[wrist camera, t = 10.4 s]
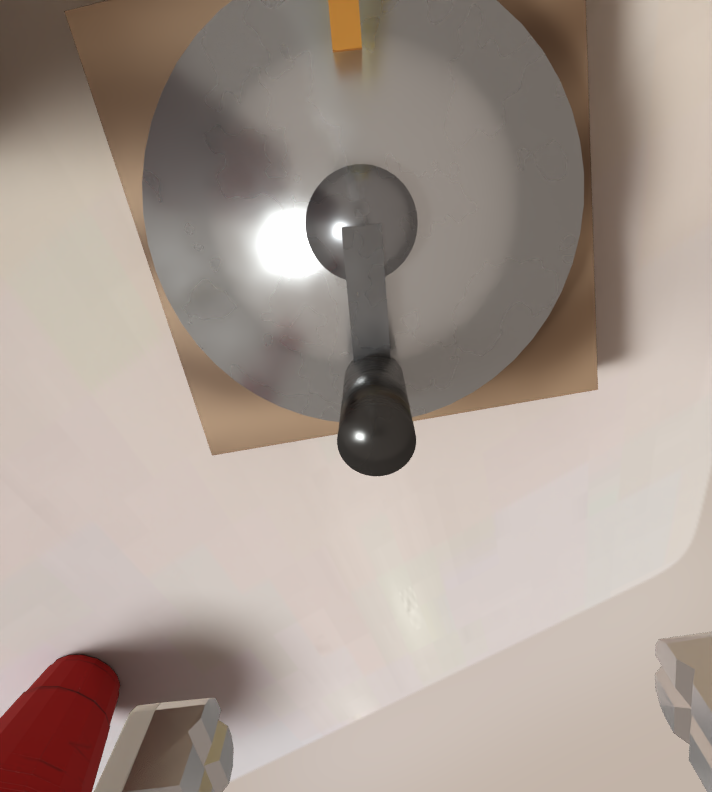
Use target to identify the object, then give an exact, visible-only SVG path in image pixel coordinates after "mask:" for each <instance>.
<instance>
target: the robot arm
mask: <svg viewBox="0 0 712 792" xmlns="http://www.w3.org/2000/svg"><path fill="white" fill-rule="evenodd" d="M655 655H656V657H657V659H658V660H659V662H660V664H661V665H662V666H661V667H660V669H659V670H658V671H657V672H656V673H655V688H656V692H657V696H658V699H659V703H660V706H661V709H662V711H663V713H664V716H665V718H666V720H667V722H668V723H669V725H670V727H671V729H672V731H673V733H674V734H676V735H677V736H678V737H680V738H681V739H683V740H684V741H686V742H687V743H689V744H690V747H689V761H690V762H691V764H692V766H693V768H694V770H695V771H696V773H697V775H698V776H699V778H700V780H701V782H702V784H703V785H704V787H705V789H706V791H707V792H712V632H705V633H699V634H692V635H684V636H677V637H670V638H663V639H659V640H658V641H657V643H656V649H655ZM220 712H221V708H220V706H219V704H218V702H217V700H216V698H203V699H193V700H183V701H173V702H162V703H155V704H146V705H137V706H136V707H135V708H134V709H133V710H132V711H131V713H130V714H129V716H128V718H127V720H126V722H125V724H124V727H123V729H122V731H121V733H120V735H119V738H118V740H117V742H116V744H115V746H114V749H113V751H112V753H111V755H110V757H109V760H108V762H107V764H106V766H105V768H104V771H103V773H102V775H101V777H100V779H99V782H98V784H97V786H96V788H95V790H94V792H223V790H224V789H225V788H226V787H227V785H228V784H229V781H230V777H231V772H232V767H233V742H232V736H231V733H230V730H229V728H228V726H227V725H225V724H224V723H222V722H221V721H219V720H218V719H219V716H220Z"/></svg>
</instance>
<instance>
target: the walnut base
mask: <svg viewBox="0 0 712 792" xmlns="http://www.w3.org/2000/svg"><path fill="white" fill-rule="evenodd" d="M231 1H232V0H107V1H103V2H99V3H95V4H91V5H87V6H83V7H79V8H75V9H71V10H68V11H64V12H65V15H66V18H67V21H68V24H69V27H70V30H71V33H72V36H73V39H74V42H75V45H76V48H77V51H78V54H79V57H80V60H81V63H82V66H83V69H84V72H85V75H86V78H87V81H88V84H89V87H90V90H91V93H92V96H93V99H94V102H95V105H96V108H97V111H98V114H99V117H100V120H101V123H102V126H103V129H104V132H105V135H106V138H107V141H108V144H109V147H110V150H111V153H112V156H113V159H114V162H115V165H116V168H117V171H118V174H119V177H120V180H121V183H122V186H123V189H124V192H125V195H126V198H127V201H128V204H129V207H130V210H131V213H132V216H133V219H134V222H135V225H136V228H137V231H138V234H139V237H140V240H141V243H142V246H143V249H144V252H145V255H146V258H147V261H148V264H149V267H150V270H151V273H152V276H153V279H154V282H155V285H156V288H157V291H158V294H159V297H160V300H161V303H162V306H163V309H164V312H165V315H166V318H167V321H168V324H169V327H170V330H171V333H172V336H173V339H174V342H175V345H176V348H177V351H178V354H179V357H180V360H181V363H182V366H183V369H184V372H185V375H186V378H187V381H188V384H189V387H190V390H191V393H192V396H193V399H194V402H195V405H196V408H197V411H198V414H199V417H200V420H201V423H202V426H203V429H204V432H205V435H206V438H207V441H208V444H209V447H210V450H211V453H212V455H218V454H223V453H229V452H235V451H241V450H247V449H253V448H259V447H264V446H270V445H276V444H282V443H288V442H294V441H299V440H305V439H311V438H317V437H323V436H329V435H335V434H338V429H339V422H334V421H326V420H322V419H318V418H313V417H309V416H305V415H302V414H299V413H296V412H293V411H290V410H288V409H285V408H282V407H279V406H277V405H275V404H273V403H271V402H269V401H267V400H265V399H263V398H261V397H259V396H257V395H256V394H254V393H253V392H251V391H250V390H248V389H247V388H245V387H244V386H242V385H241V384H239V383H238V382H236V381H235V380H234V379H232V378H231V377H230V376H229V375H228V374H227V373H225V372H224V371H223V370H222V369H221V368H219V367H218V366H217V365H216V364H215V363H214V362H213V361H212V360H211V359H210V358H209V357H208V356H207V355H206V354H205V352H204V351H203V350H202V349H201V348H200V347H199V346H198V345H197V344H196V342H195V341H194V340H193V338H192V337H191V336H190V334H189V333H188V332H187V330H186V329H185V327H184V326H183V325H182V323H181V322H180V320H179V318H178V316H177V315H176V313H175V311H174V309H173V308H172V306H171V304H170V302H169V301H168V299H167V297H166V294H165V292H164V290H163V287H162V285H161V283H160V280H159V278H158V275H157V273H156V270H155V266H154V263H153V260H152V256H151V253H150V249H149V246H148V241H147V235H146V228H145V222H144V216H143V196H142V178H143V167H144V155H145V149H146V144H147V140H148V135H149V130H150V126H151V121H152V118H153V116H154V113H155V110H156V107H157V104H158V102H159V99H160V96H161V93H162V91H163V89H164V87H165V85H166V83H167V81H168V79H169V77H170V75H171V73H172V71H173V69H174V67H175V65H176V63H177V62H178V60H179V59H180V57H181V56H182V54H183V53H184V52H185V50H186V49H187V47H188V46H189V45H190V43H191V42H192V40H193V39H194V37H195V36H196V35H197V34H198V33H199V31H200V30H201V29H202V28H203V27H204V26H205V25H206V24H207V23H208V22H209V21H210V20H211V19H212V18H213V17H214V16H215V15H216V13H217V12H218V11H219V10H221V9H222V8H223V7H224V6H226V5H227V4H228V3H229V2H231ZM497 1H498V2H499V3H500V4H501V5H502V6H503V7H504V8H505V9H506V10H508V11H509V12H510V13H511V14H512V15H513V16H514V17H515V18H516V19H517V20H518V21H519V22H520V23H521V24H522V25H523V26H524V27H525V29H526V30H527V31H528V32H529V34H530V35H531V36H532V37H533V39H534V40H535V41H536V42H537V44H538V45H539V46H540V47H541V49H542V50H543V52H544V53H545V55H546V57H547V59H548V60H549V62H550V64H551V65H552V67H553V69H554V71H555V72H556V74H557V76H558V77H559V79H560V82H561V84H562V87H563V89H564V91H565V94H566V96H567V99H568V101H569V104H570V106H571V109H572V112H573V116H574V120H575V123H576V127H577V131H578V135H579V139H580V145H581V153H582V161H583V169H584V207H583V215H582V223H581V231H580V236H579V240H578V244H577V248H576V252H575V256H574V260H573V264H572V266H571V269H570V272H569V274H568V277H567V279H566V282H565V284H564V287H563V290H562V292H561V294H560V296H559V297H558V299H557V301H556V303H555V305H554V307H553V309H552V311H551V313H550V314H549V316H548V318H547V319H546V321H545V322H544V323H543V325H542V326H541V328H540V329H539V331H538V332H537V333H536V335H535V336H534V338H533V339H532V340H531V341H530V343H529V344H528V345H527V346H526V347H525V348H524V349H523V350H522V352H521V353H520V354H519V355H518V356H517V357H516V358H515V359H514V360H513V361H512V362H511V363H510V364H509V365H508V366H507V367H505V368H504V369H503V370H502V371H501V372H500V373H499V374H498V375H496V376H495V377H494V378H493V379H491V380H490V381H488V382H487V383H486V384H484V385H483V386H481V387H480V388H478V389H477V390H475V391H474V392H473V393H471V394H469V395H467V396H465V397H463V398H461V399H459V400H458V401H456V402H454V403H452V404H450V405H447V406H445V407H442V408H440V409H437V410H434V411H432V412H429V413H427V414H423V415H419V416H415V417H412V420H413V421H416V420H422V419H428V418H434V417H440V416H446V415H452V414H457V413H463V412H469V411H475V410H481V409H487V408H493V407H498V406H504V405H510V404H516V403H522V402H528V401H533V400H539V399H545V398H551V397H557V396H563V395H569V394H574V393H580V392H586V391H592V390H598V378H597V346H596V315H595V283H594V251H593V219H592V188H591V156H590V124H589V92H588V61H587V29H586V0H497Z"/></svg>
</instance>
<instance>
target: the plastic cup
mask: <svg viewBox="0 0 712 792" xmlns="http://www.w3.org/2000/svg"><path fill="white" fill-rule="evenodd" d="M119 688H120V684H119V680H118V677H117V675H116V673H115V672H114V671H113V670H112V669H111V668H110V666H108V665H107V664H105V663H103V662H102V661H100V660H98V659H96V658H93V657H89V656H85V655H68V656H65V657H62V658H60V659H57V660H56V661H55V662H54V663H53V664H52V665H50V666H49V667H48V668H47V669H46V670H45V671H44V672H43V673H42V674H41V676H40V677H39V678H38V679H37V680H36V681H35V682H34V683H33V684H32V686H31V687H30V688H29V689H28V690H27V691H26V692H24V693H23V694H22V695H21V696H20V697H19V698H18V699H17V700H16V701H15V702H14V703H13V705H12V706H11V707H10V708H9V709H8V710H7V711H6V712H5V714H4V715H3V716H2V717H1V718H0V792H92V789H93V785H94V782H95V778H96V775H97V771H98V768H99V764H100V761H101V757H102V754H103V750H104V747H105V743H106V740H107V736H108V732H109V729H110V722H111V719H112V716H113V713H114V710H115V706H116V703H117V699H118V696H119Z"/></svg>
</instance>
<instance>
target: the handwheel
mask: <svg viewBox="0 0 712 792" xmlns="http://www.w3.org/2000/svg"><path fill="white" fill-rule="evenodd" d="M142 196H143V216H144V222H145V228H146V235H147V241H148V246H149V249H150V253H151V256H152V260H153V263H154V266H155V270H156V273H157V275H158V278H159V280H160V283H161V285H162V287H163V290H164V292H165V294H166V297H167V299H168V301H169V302H170V304H171V306H172V308H173V309H174V311H175V313H176V315H177V316H178V318H179V320H180V322H181V323H182V325H183V326H184V327H185V329H186V330H187V332H188V333H189V334H190V336H191V337H192V338H193V340H194V341H195V342H196V344H197V345H198V346H199V347H200V348H201V349H202V350H203V351H204V352H205V354H206V355H207V356H208V357H209V358H210V359H211V360H212V361H213V362H214V363H215V364H216V365H217V366H218V367H219V368H221V369H222V370H223V371H224V372H225V373H227V374H228V375H229V376H230V377H231V378H232V379H234V380H235V381H236V382H238V383H239V384H241V385H242V386H244V387H245V388H247V389H248V390H250V391H251V392H253V393H254V394H256V395H257V396H259V397H261V398H263V399H265V400H267V401H269V402H271V403H273V404H275V405H277V406H279V407H282V408H285V409H288V410H290V411H293V412H296V413H299V414H302V415H305V416H309V417H313V418H318V419H322V420H326V421H334V422H339V429H338V438H337V445H338V450H339V453H340V455H341V457H342V458H343V460H344V461H345V462H346V464H347V465H348V466H350V467H351V468H352V469H354V470H355V471H357V472H359V473H362V474H365V475H369V476H384V475H388V474H391V473H394V472H396V471H398V470H399V469H401V468H402V467H403V466H405V465H406V464H407V462H408V461H409V460H410V458H411V457H412V455H413V453H414V450H415V446H416V435H415V430H414V425H413V420H412V417H415V416H419V415H423V414H427V413H429V412H432V411H434V410H437V409H440V408H442V407H445V406H447V405H450V404H452V403H454V402H456V401H458V400H459V399H461V398H463V397H465V396H467V395H469V394H471V393H473V392H474V391H475V390H477V389H478V388H480V387H481V386H483V385H484V384H486V383H487V382H488V381H490V380H491V379H493V378H494V377H495V376H496V375H498V374H499V373H500V372H501V371H502V370H503V369H504V368H505V367H507V366H508V365H509V364H510V363H511V362H512V361H513V360H514V359H515V358H516V357H517V356H518V355H519V354H520V353H521V352H522V350H523V349H524V348H525V347H526V346H527V345H528V344H529V343H530V341H531V340H532V339H533V338H534V336H535V335H536V333H537V332H538V331H539V329H540V328H541V326H542V325H543V323H544V322H545V321H546V319H547V318H548V316H549V314H550V313H551V311H552V309H553V307H554V305H555V303H556V301H557V299H558V297H559V296H560V294H561V292H562V290H563V287H564V284H565V282H566V279H567V277H568V274H569V272H570V269H571V266H572V264H573V260H574V256H575V252H576V248H577V244H578V240H579V236H580V231H581V223H582V215H583V207H584V169H583V161H582V153H581V145H580V139H579V135H578V131H577V127H576V123H575V120H574V116H573V112H572V109H571V106H570V104H569V101H568V99H567V96H566V94H565V91H564V89H563V87H562V84H561V82H560V79H559V77H558V76H557V74H556V72H555V71H554V69H553V67H552V65H551V64H550V62H549V60H548V59H547V57H546V55H545V53H544V52H543V50H542V49H541V47H540V46H539V45H538V44H537V42H536V41H535V40H534V39H533V37H532V36H531V35H530V34H529V32H528V31H527V30H526V29H525V27H524V26H523V25H522V24H521V23H520V22H519V21H518V20H517V19H516V18H515V17H514V16H513V15H512V14H511V13H510V12H509V11H508V10H506V9H505V8H504V7H503V6H502V5H501V4H500V3H499V2H498V1H497V0H232V1H231V2H229V3H228V4H227V5H226V6H224V7H223V8H222V9H221V10H219V11H218V12H217V13H216V15H215V16H214V17H213V18H212V19H211V20H210V21H209V22H208V23H207V24H206V25H205V26H204V27H203V28H202V29H201V30H200V31H199V33H198V34H197V35H196V36H195V37H194V39H193V40H192V42H191V43H190V45H189V46H188V47H187V49H186V50H185V52H184V53H183V54H182V56H181V57H180V59H179V60H178V62H177V63H176V65H175V67H174V69H173V71H172V73H171V75H170V77H169V79H168V81H167V83H166V85H165V87H164V89H163V91H162V93H161V96H160V99H159V102H158V104H157V107H156V110H155V113H154V116H153V118H152V121H151V126H150V130H149V135H148V140H147V144H146V149H145V155H144V167H143V178H142Z"/></svg>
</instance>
